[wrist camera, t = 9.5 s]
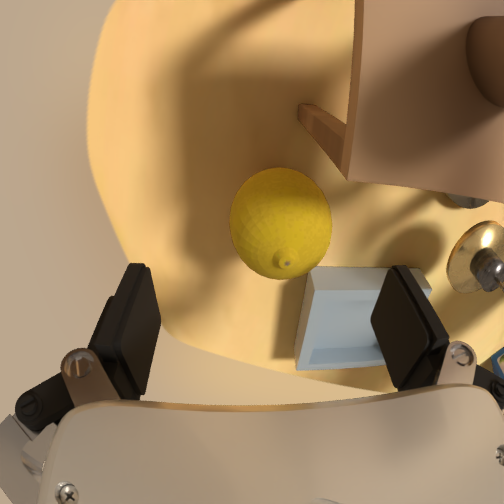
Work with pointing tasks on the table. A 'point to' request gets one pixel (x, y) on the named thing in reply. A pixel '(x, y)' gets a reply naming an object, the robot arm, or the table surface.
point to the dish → (341, 318)
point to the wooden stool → (422, 98)
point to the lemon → (280, 223)
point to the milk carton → (498, 363)
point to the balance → (477, 253)
